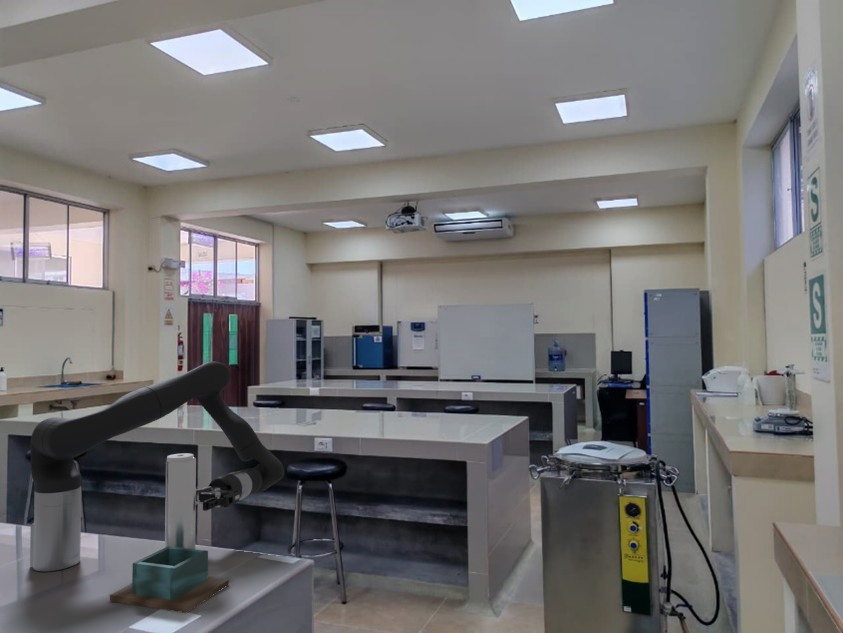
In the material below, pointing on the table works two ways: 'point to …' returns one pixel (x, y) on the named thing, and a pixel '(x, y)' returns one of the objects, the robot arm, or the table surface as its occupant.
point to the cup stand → (170, 580)
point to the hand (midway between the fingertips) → (188, 504)
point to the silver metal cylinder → (180, 501)
